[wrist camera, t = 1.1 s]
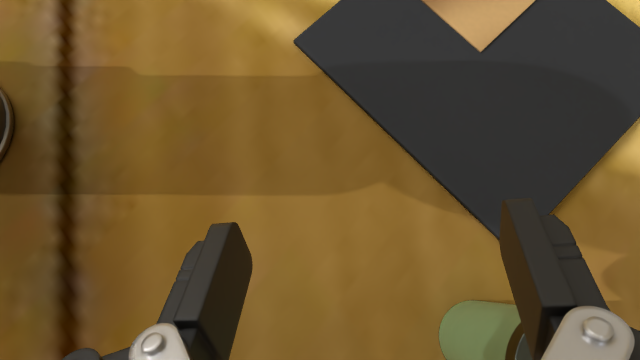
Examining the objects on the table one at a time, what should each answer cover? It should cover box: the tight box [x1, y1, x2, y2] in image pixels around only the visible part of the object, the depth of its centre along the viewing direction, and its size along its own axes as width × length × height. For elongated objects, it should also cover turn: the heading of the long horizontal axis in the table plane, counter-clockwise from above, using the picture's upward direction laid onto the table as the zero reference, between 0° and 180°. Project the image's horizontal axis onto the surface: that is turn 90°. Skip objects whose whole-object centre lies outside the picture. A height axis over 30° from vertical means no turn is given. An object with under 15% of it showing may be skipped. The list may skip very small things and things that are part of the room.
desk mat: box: [294, 0, 640, 240], centre depth 34 cm, size 22×20×1 cm
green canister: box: [439, 300, 532, 360], centre depth 24 cm, size 5×5×12 cm
